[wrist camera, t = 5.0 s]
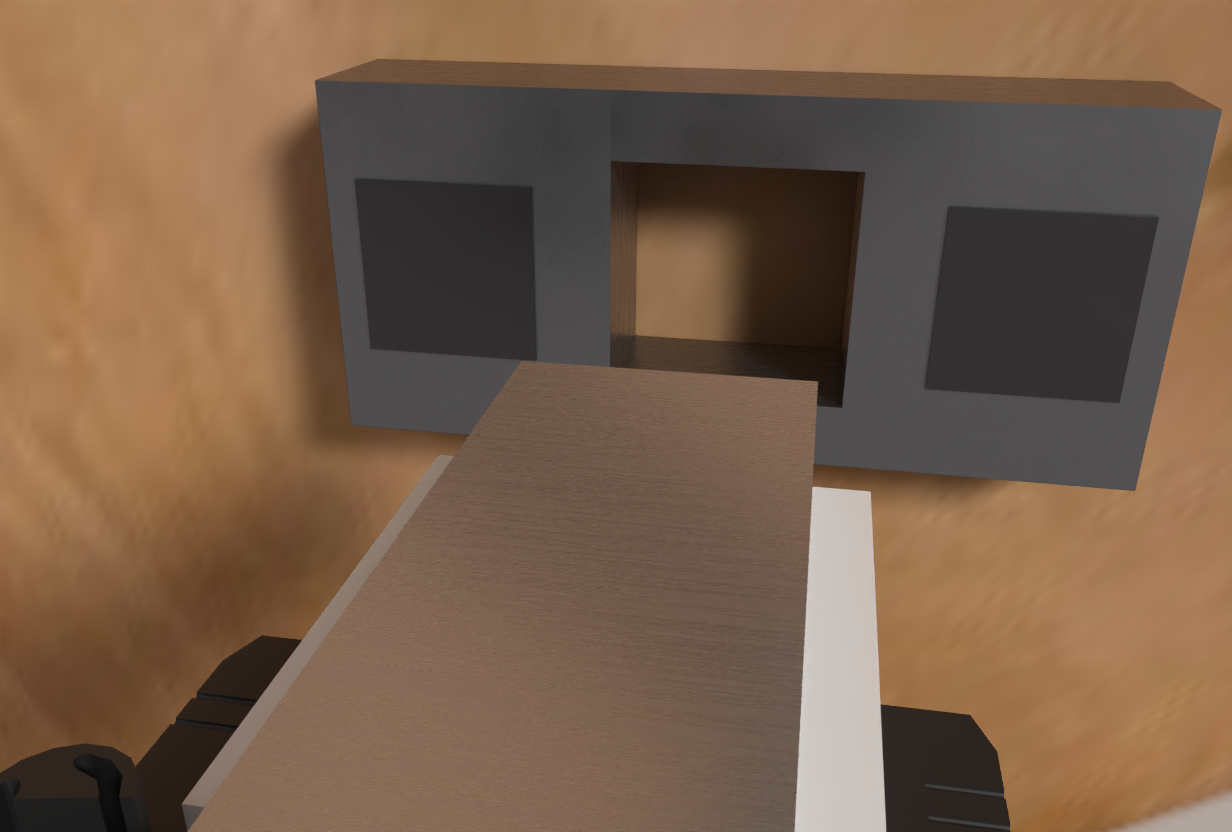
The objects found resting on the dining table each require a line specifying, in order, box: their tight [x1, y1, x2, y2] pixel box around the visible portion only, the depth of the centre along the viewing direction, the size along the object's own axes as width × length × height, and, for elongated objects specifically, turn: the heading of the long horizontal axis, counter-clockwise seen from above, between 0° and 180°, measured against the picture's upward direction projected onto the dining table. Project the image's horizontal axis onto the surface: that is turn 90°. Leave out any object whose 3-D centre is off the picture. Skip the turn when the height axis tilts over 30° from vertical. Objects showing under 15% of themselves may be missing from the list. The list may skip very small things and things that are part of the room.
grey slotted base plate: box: [315, 59, 1222, 491], centre depth 28 cm, size 20×9×4 cm, turn 90°
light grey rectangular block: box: [188, 361, 818, 832], centre depth 12 cm, size 4×4×10 cm
